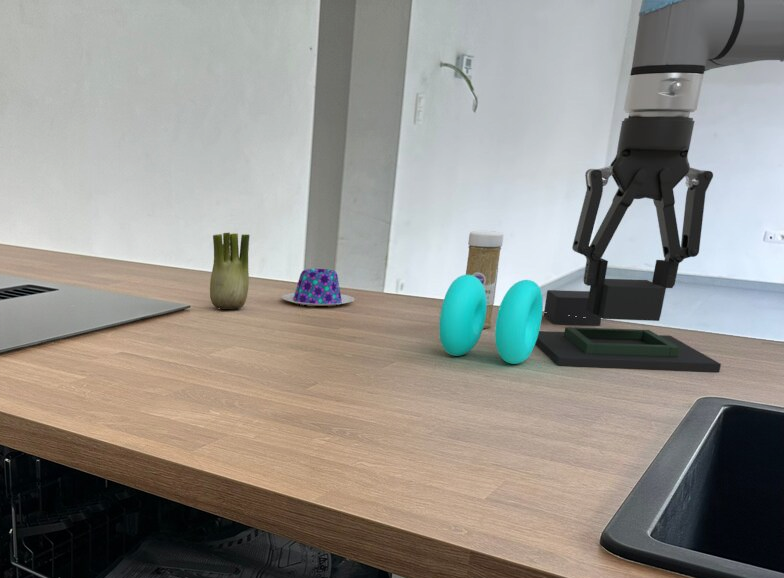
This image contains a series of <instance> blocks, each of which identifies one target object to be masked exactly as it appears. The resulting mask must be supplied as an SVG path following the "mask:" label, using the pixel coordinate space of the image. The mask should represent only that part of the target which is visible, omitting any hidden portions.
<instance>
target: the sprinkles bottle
mask: <svg viewBox="0 0 784 578" xmlns="http://www.w3.org/2000/svg"><path fill="white" fill-rule="evenodd" d="M503 242H504V233H503V232H500V231H496V230H495V231H494V230H472V231H470V232H469V235H468V243H467V244H468V256H467V261H466V262H467V263H466V270H465V275H472V276H475V277H476V278H478V279H479V280H480V281H481V283H482V284H483V286H484V289H485V292H486V298H487V310H486V318H485V323H484V327H483V329H488V328H490V327H491V326H493V325H492V317H493V310H494V304H495V299H496V298H495V297H496V289H497V282H498V274H499V263H500V257H501V255H500V253H501V250H502V247H503Z"/></svg>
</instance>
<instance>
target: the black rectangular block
mask: <svg viewBox="0 0 784 578" xmlns="http://www.w3.org/2000/svg"><path fill="white" fill-rule="evenodd" d="M665 289H666V290H667V288H664V287H662V286H660V285H657V284H655V283H653V282H652V281H650V280H647V279H629V278H627V279H625V278H605V282H604V285H603V291H602V297H601V303H600V309H599V314H596V315H598V316H599V317H601V320H621V321H622V320H623V321H647V322H649V321H650V322H651V321H652V322H660V319H661V316H660V314H661V315H662V311H661V309H662V310H663V306H662V304H663V305H664V301H663V299H664V300H665V296H664V294H665V295H666V291H665Z"/></svg>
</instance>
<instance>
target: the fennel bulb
mask: <svg viewBox="0 0 784 578" xmlns="http://www.w3.org/2000/svg"><path fill="white" fill-rule="evenodd" d="M212 242H213V243H212V244H213V265H212V270H211V276H210V283H209V284H210V285H209V297H210V302H211V304H212V305H213V306H214V307H215V308H216V309H218V308H220V309H219V310H238V309H239V310H240V309H241V308H243V307H244V306H245V304H246V301H247V297H248V293H249V286H250V285H249V284H250V283H249V281H250V276H249V275H250V274H249V247H250V234H249V233H248V234H245V233H244V234H241V237H240V244H239V234H238V233H237V232H236V233H231V232H223V234H222V233H219V234H213V235H212ZM239 245H240V246H239Z"/></svg>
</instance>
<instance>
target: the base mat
mask: <svg viewBox="0 0 784 578" xmlns="http://www.w3.org/2000/svg"><path fill="white" fill-rule="evenodd" d="M535 345H536V346H537V347H538V348H539V349H540V350H541V351H542V352H543V353H544V354H545V355H546V356H547V357H548V358H549V359H550V360H551V361H552V362H553V363H554V364H555V365H557V366H558V367H559V366H560V367H582V368H583V367H584V368H606V369H607V368H608V369H633V370H659V371H682V372H707V373H720V372H721V371H720V370H721V366H722V363H720V362H718V361H717V360H715V359H714V358H711V357H709V356H708V355H706V354H704V353H702V352H700V351H698V350H697V349H695V348H693V347H692V346H690V345H688V344H686V343H685V342H683V341H681V340H679V339H677V338H675V337H674V336H672V335H665V334H657V333H655V332H654V331H652V330H650V329H638V328H637V329H636V328H635V329H633V328H605V327H603V328H602V327H578V326H577V327H575V326H572V327H571V326H565V327H564V331H549V330H539V334H538V337H537V341H536V343H535Z"/></svg>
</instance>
